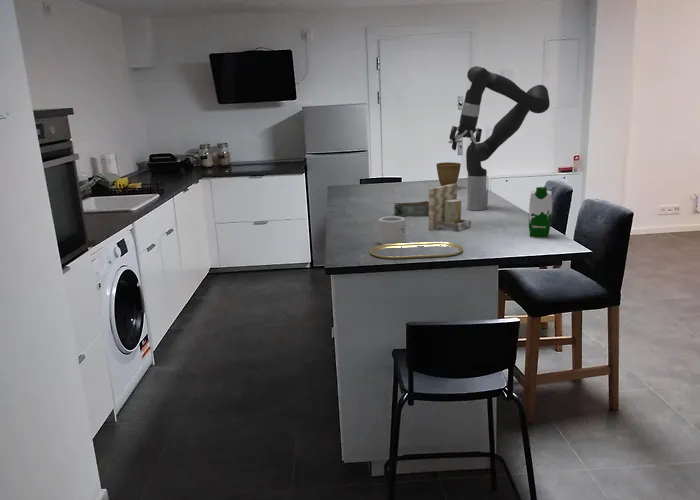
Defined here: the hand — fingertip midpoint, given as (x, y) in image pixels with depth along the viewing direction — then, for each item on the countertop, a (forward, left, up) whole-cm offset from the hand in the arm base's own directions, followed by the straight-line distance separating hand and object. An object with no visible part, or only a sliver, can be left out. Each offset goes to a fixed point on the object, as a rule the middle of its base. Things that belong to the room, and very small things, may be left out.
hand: (462, 150), depth 262 cm
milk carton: (-18, +36, -33) cm, 52 cm away
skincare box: (+8, +9, -33) cm, 35 cm away
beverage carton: (+14, -25, -33) cm, 44 cm away
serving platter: (+38, +42, -33) cm, 66 cm away
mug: (+41, +24, -33) cm, 58 cm away
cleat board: (+8, +9, -33) cm, 35 cm away
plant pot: (-35, -92, -33) cm, 104 cm away
